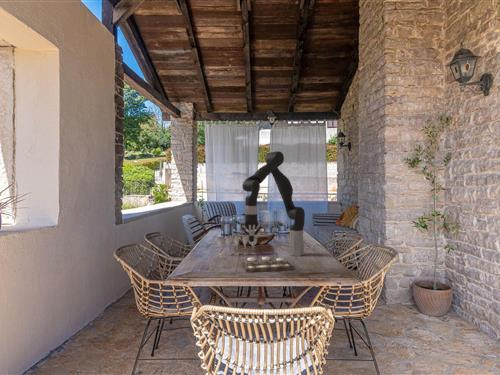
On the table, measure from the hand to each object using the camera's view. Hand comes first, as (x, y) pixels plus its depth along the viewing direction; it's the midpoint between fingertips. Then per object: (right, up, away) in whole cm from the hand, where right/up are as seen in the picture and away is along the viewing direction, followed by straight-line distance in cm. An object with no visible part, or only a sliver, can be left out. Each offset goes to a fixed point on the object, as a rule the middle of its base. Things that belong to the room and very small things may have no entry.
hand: (251, 241), depth 227 cm
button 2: (+18, -13, +4) cm, 22 cm away
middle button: (+9, -12, +2) cm, 15 cm away
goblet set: (-10, -14, +36) cm, 40 cm away
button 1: (0, -12, +1) cm, 12 cm away
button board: (+9, -16, 0) cm, 18 cm away
